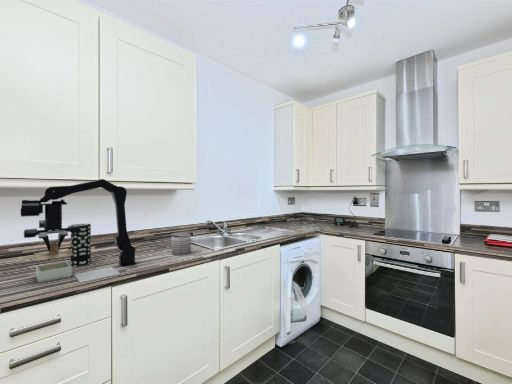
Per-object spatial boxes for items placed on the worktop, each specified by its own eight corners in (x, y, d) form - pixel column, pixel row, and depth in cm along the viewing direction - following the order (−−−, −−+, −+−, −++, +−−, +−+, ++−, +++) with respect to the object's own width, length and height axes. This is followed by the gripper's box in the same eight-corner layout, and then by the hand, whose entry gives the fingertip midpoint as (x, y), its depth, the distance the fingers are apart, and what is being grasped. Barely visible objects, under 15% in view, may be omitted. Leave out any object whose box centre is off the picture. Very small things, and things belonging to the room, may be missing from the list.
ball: (57, 272, 109) (57, 265, 109) (59, 274, 107) (59, 267, 107) (48, 274, 107) (48, 267, 107) (49, 276, 105) (49, 268, 105)
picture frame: (111, 267, 119) (111, 266, 119) (120, 274, 110) (120, 273, 110) (74, 275, 108) (74, 274, 108) (80, 283, 99) (80, 282, 99)
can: (176, 250, 153) (176, 231, 153) (194, 251, 152) (194, 232, 152) (167, 255, 142) (167, 234, 142) (186, 256, 140) (186, 235, 140)
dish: (67, 270, 115) (67, 260, 115) (71, 276, 107) (71, 266, 107) (35, 276, 107) (35, 266, 107) (38, 283, 99) (38, 272, 99)
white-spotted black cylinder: (94, 261, 129) (94, 223, 129) (83, 266, 121) (83, 226, 120) (78, 261, 129) (78, 223, 128) (66, 266, 120) (66, 226, 120)
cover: (68, 250, 115) (68, 240, 115) (73, 255, 107) (73, 244, 107) (33, 254, 107) (33, 244, 107) (36, 260, 98) (36, 248, 98)
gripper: (76, 212, 119) (76, 244, 119) (23, 215, 106) (23, 251, 106) (80, 214, 111) (80, 248, 111) (24, 217, 98) (24, 256, 98)
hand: (53, 250), depth 107 cm, fingers closed on cover, 2 cm apart
